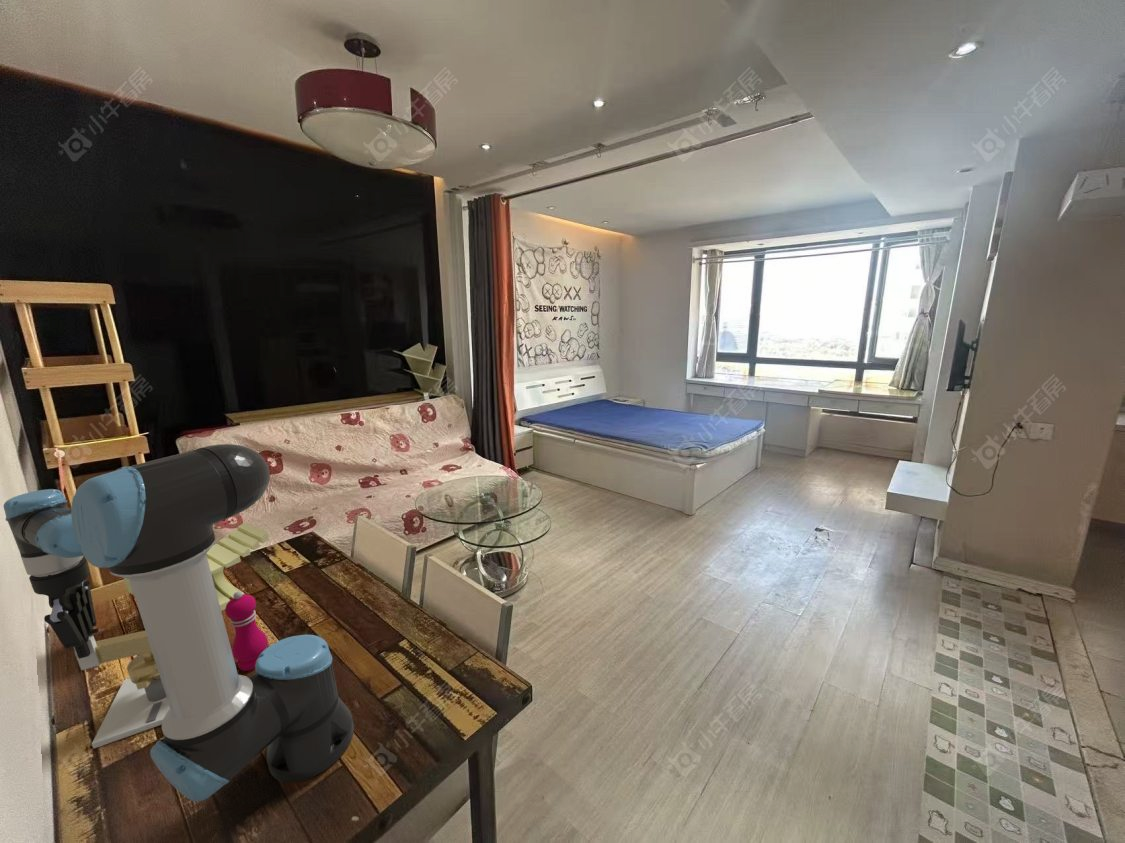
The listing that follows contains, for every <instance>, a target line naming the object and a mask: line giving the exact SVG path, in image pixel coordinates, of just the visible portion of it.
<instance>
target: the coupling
mask: <svg viewBox="0 0 1125 843" xmlns="http://www.w3.org/2000/svg"><path fill="white" fill-rule="evenodd" d="M95 642H96V645H97V646H96V647H95V649H96V652H97V655H98V658H99V660H100V664H104V663H110V662H113V661H117V660H121V659H125V658H130V657H134V656H135V657H134V658H133V659H132V660H131V661H130V662H129V663H128V665H127V666H126V670H127V673H128V677H129V678H130V679H131V682H132V683H134V684H136V686H137V689H138V690H139V689H143V688H146V687H148V685H149V684H150V682H152V681H154V680H157V679H159V678H160V675H159V672H158V668H157V665H156V662H155V659H154V656H153V653H152V650H151V646H150V643H149V640H148V637H147V634H146V631H145V630H141V631H137V632H132V633H126V634H123V635H119V636H112V637H109V638H105V639H100V640H95ZM74 655H75V658H76V661H77V662H78V665H79V666H78V667H79V668H80V669H81V667H80V664H79V661H78V659H77V656H76V653H75V651H74Z"/></svg>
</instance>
